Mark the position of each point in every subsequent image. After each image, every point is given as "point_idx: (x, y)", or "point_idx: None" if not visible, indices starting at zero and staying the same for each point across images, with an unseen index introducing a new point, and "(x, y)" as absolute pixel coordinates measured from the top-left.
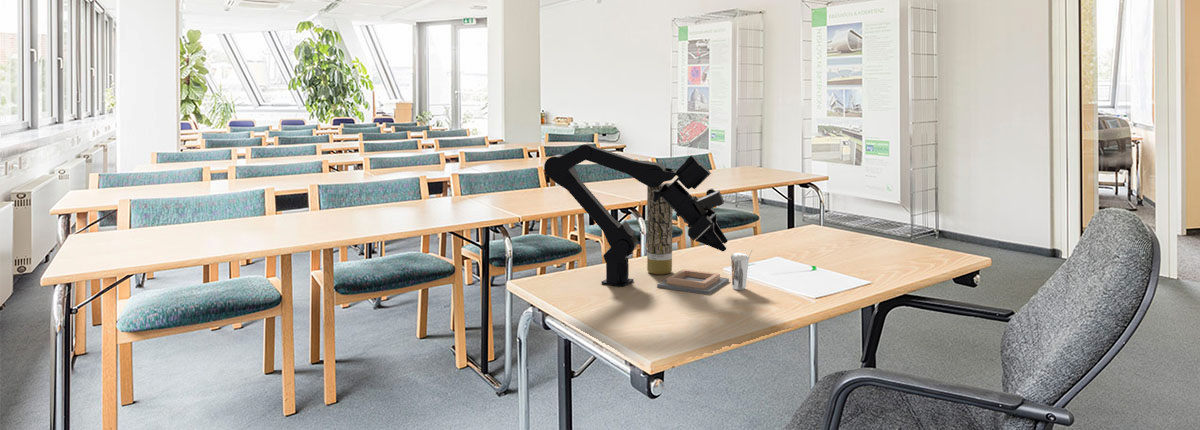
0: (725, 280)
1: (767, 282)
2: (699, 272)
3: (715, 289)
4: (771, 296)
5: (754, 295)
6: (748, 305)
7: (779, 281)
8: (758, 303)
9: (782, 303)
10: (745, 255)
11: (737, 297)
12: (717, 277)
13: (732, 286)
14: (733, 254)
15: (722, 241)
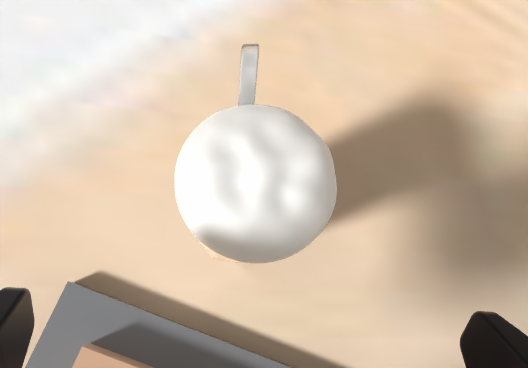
0: (124, 304)
1: (88, 64)
2: None
3: (286, 365)
4: (352, 83)
5: (350, 157)
6: (512, 199)
7: (63, 3)
8: (472, 152)
9: (448, 54)
10: (295, 128)
11: (400, 243)
12: (128, 361)
13: (236, 262)
14: (276, 233)
15: (19, 363)
